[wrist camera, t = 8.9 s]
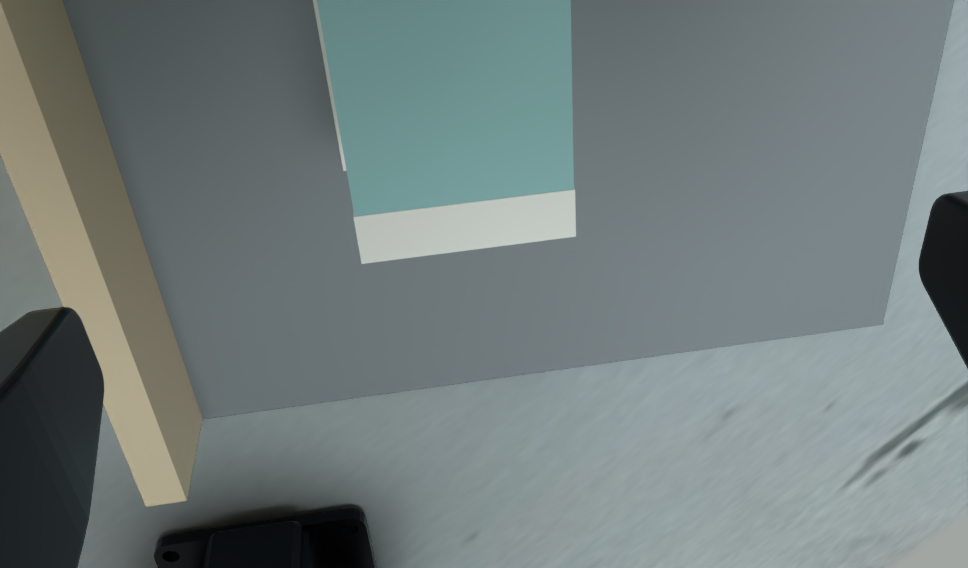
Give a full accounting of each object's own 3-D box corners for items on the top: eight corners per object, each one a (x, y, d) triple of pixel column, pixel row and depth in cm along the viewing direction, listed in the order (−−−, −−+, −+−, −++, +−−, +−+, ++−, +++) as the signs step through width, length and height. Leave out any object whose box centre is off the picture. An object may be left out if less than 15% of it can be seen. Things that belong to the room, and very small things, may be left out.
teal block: (515, -211, 17) (569, -180, 13) (530, 128, 21) (575, 236, 17) (303, -192, 17) (289, -153, 13) (358, 148, 21) (361, 264, 17)
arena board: (872, 312, 27) (939, 392, 24) (169, 409, 25) (145, 506, 22) (1025, -413, 17) (1169, -435, 14) (-94, -319, 16) (-196, -319, 13)
